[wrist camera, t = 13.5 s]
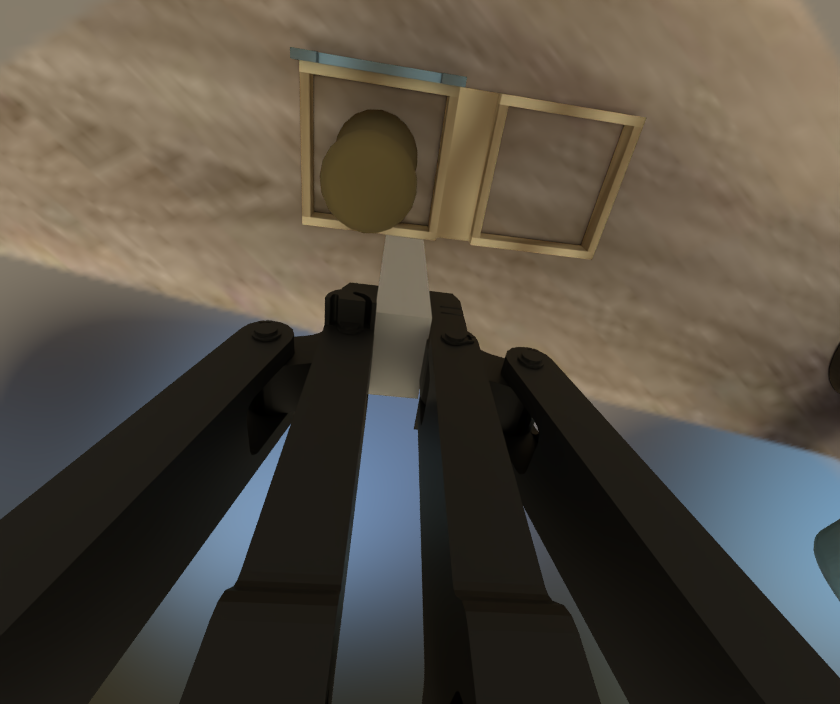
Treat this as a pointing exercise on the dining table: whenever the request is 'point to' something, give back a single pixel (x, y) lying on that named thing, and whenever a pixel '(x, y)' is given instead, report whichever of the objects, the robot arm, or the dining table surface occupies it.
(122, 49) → the dining table surface
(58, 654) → the robot arm
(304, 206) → the caddy
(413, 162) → the cork
